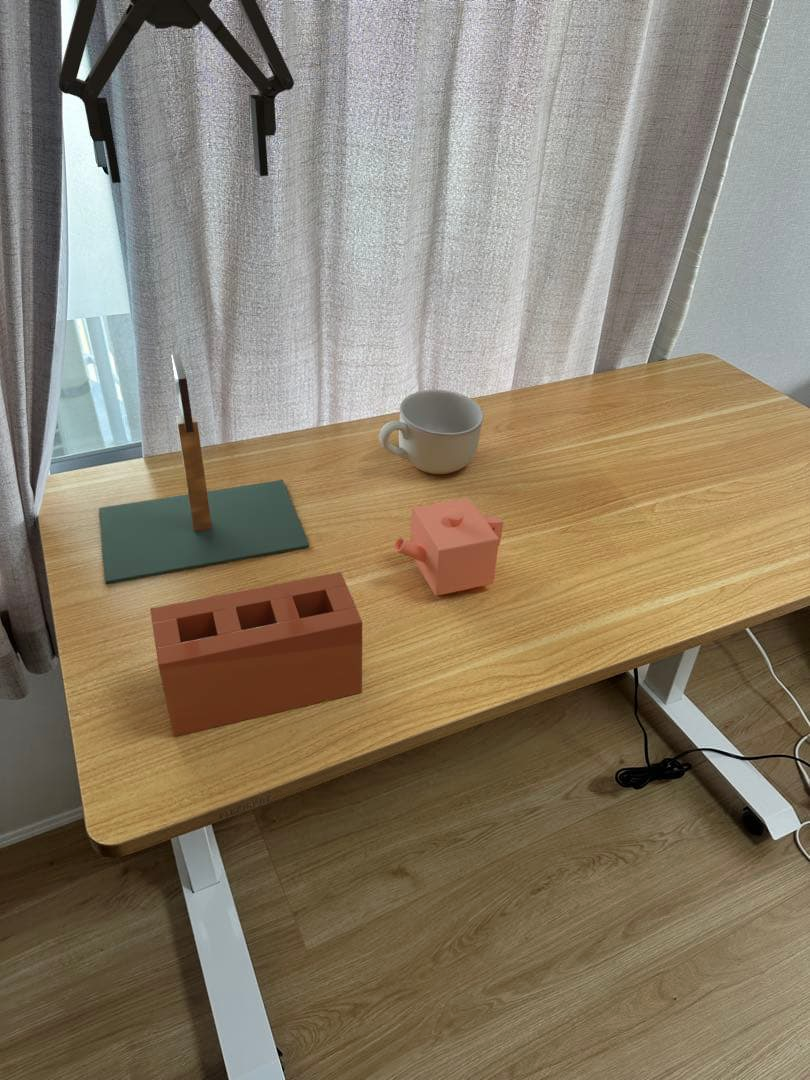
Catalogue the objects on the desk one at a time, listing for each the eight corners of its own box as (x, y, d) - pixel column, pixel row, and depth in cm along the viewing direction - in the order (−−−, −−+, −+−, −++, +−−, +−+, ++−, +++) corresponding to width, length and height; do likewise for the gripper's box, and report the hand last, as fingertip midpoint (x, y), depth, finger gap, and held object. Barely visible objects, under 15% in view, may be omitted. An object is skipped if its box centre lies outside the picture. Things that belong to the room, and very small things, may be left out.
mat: (105, 584, 85) (105, 581, 85) (99, 510, 95) (99, 507, 95) (309, 547, 91) (309, 545, 91) (282, 482, 102) (282, 479, 101)
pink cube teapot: (381, 564, 89) (383, 503, 84) (480, 544, 93) (487, 484, 88) (405, 609, 84) (408, 547, 79) (509, 587, 87) (519, 525, 82)
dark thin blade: (196, 542, 91) (171, 380, 78) (190, 512, 95) (165, 354, 83) (214, 539, 91) (192, 377, 79) (207, 509, 96) (185, 352, 83)
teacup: (460, 437, 112) (465, 384, 107) (491, 478, 104) (497, 423, 99) (364, 450, 108) (364, 397, 103) (388, 494, 100) (389, 438, 95)
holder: (362, 692, 74) (362, 621, 69) (173, 737, 70) (158, 664, 64) (341, 641, 80) (340, 571, 74) (165, 679, 75) (150, 607, 69)
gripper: (300, -103, 70) (309, 161, 83) (-13, -119, 63) (50, 172, 76) (322, -104, 64) (328, 179, 77) (-19, -122, 57) (50, 193, 70)
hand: (190, 176), depth 77 cm, fingers open, 13 cm apart
